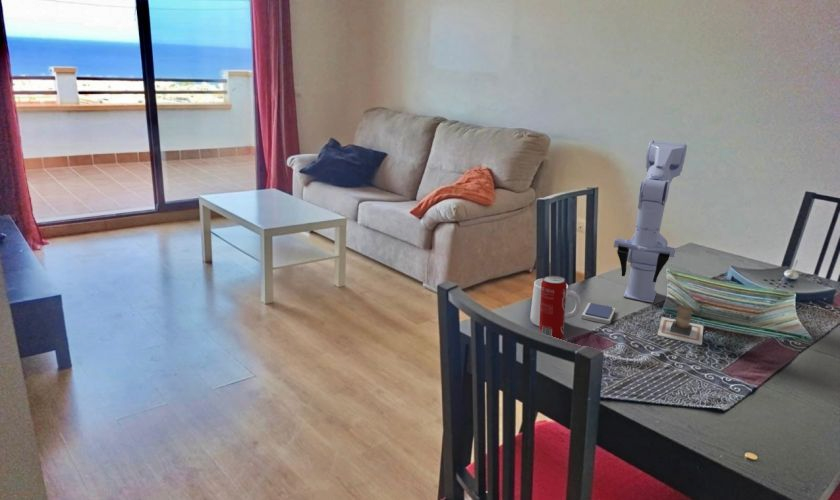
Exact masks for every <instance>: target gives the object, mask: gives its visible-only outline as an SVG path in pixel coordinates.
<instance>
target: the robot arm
mask: <svg viewBox="0 0 840 500" xmlns="http://www.w3.org/2000/svg"><path fill="white" fill-rule="evenodd" d="M687 147H688V145H687V143H685V142H683V143H681V142H680V143H678V142H671V141H670V142H669V141H659V140H653V139H651V140H650V141H649V143H648V146H647V149H646V156H645V158H646V159H645V160H646V161H645V162H646V163H645V168H646V172H647V173H646V174H645V175H646V176H645V178H644V179H643V180H641V182H640V185H639V190H638V204H637V209H638V210H637V216H636V221H635V228H634V234H633V235H632V236H631V238H630V239H625V238H624V239H623V238H617V237H616V238H615V239H614V242H613V248H616V249H617V250H616V253H617V256H618V258H619V262H620V267H621V268H620V269H621V277H625V276H626V274H627V266H628V263H629V264H630V265H629V266H630V268H629V269H630V270H629V276H628V281H627V286H626V288H625V292H624V293H623V298H627V299H631V300H636V301H642V302H647V303H654V301H655V297H656V295H657V290H655V289H656V284H657V283H656V282H657V280H658V277H659V275H660V273H661V271H662V269H663V268H664V266H665V265H666V264H667V263H668V262H669V259H670V258H674V257H675V255H676V247H673V246H668V244H669V243H668V241H667V239H666V238H665V236H663V235H662V234H661V233H660V232H661V227H662V221H663V216H664V211H665V206H666V203H667V201H668V196H669V191H670V184H671V183H672V181H673V179H674V178H676V177H679V176H681V173H682V172H683V168H684V163H685V159H686V153H687Z"/></svg>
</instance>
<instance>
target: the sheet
mask: <svg viewBox="0 0 840 500" xmlns="http://www.w3.org/2000/svg"><path fill="white" fill-rule="evenodd" d="M674 321H676V318H670V317H665V316H661V319H660V322H659V328H658V330H657V335H656V336H657V337H662V338H667V339H670V340H674V341H675V340H676V341H680V342H684V343H690V344H694V345H698V346H702V345H703V334H704V325H702V324H697V323H693V322H690V325H692V330H691V332H690V335H689V336H687V335H683V334H679V333H675V332H671V331H670V329H671V326H672V324H673V322H674Z"/></svg>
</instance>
